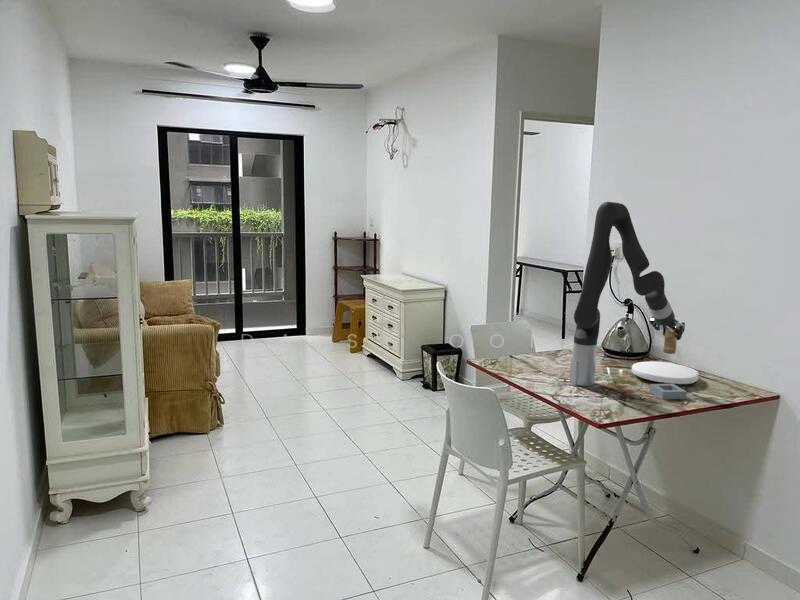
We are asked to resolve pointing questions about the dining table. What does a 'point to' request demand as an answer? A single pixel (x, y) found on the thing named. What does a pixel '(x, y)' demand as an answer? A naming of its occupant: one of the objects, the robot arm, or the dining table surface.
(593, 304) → the robot arm
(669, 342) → the dowel
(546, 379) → the dining table surface
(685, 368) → the plate
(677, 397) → the socket block
